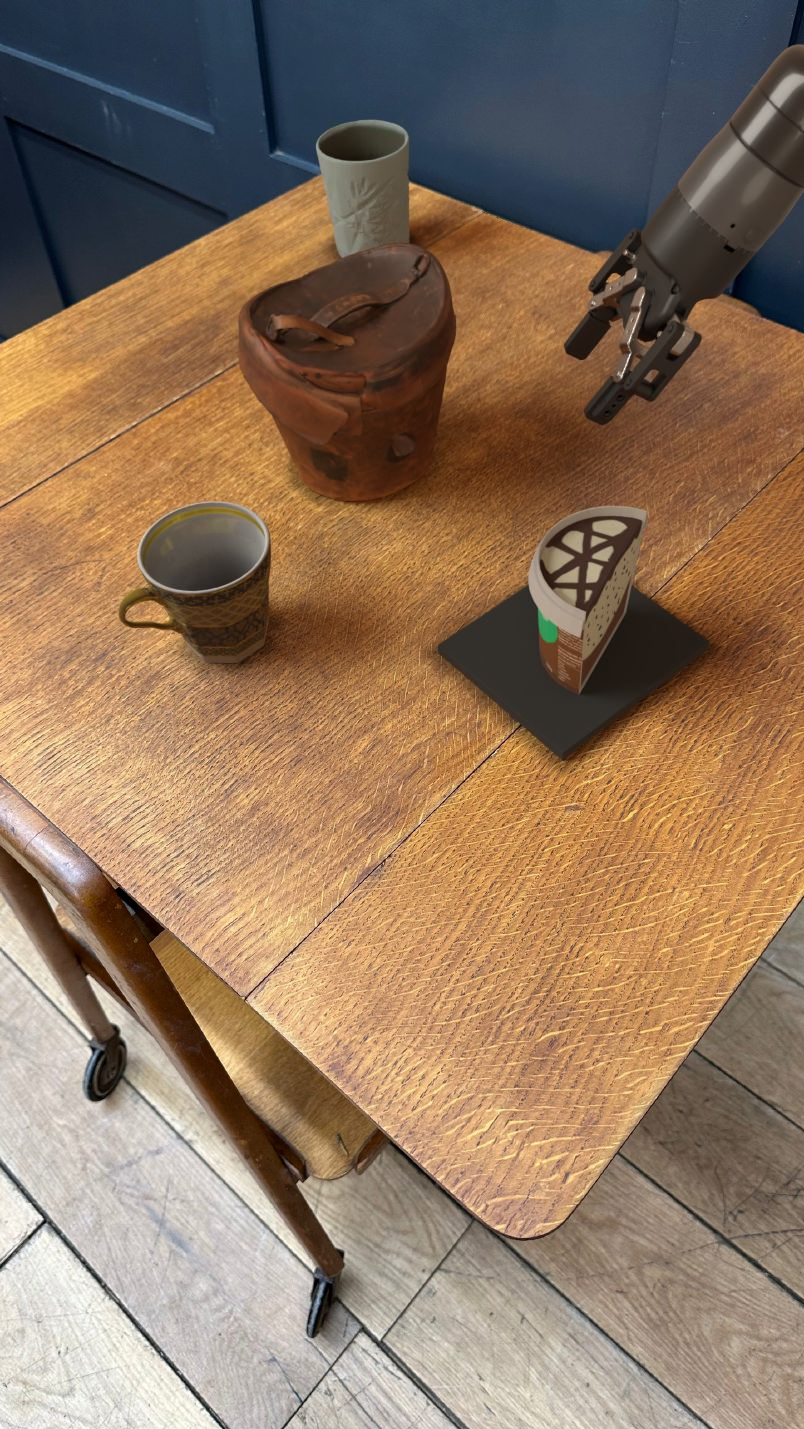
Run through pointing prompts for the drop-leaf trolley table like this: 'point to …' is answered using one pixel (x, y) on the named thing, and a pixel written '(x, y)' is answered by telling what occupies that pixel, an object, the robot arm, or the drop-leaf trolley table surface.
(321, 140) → the embossed grey tumbler
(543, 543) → the food container
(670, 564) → the drop-leaf trolley table surface
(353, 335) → the case
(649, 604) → the mat
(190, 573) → the ceramic cup
